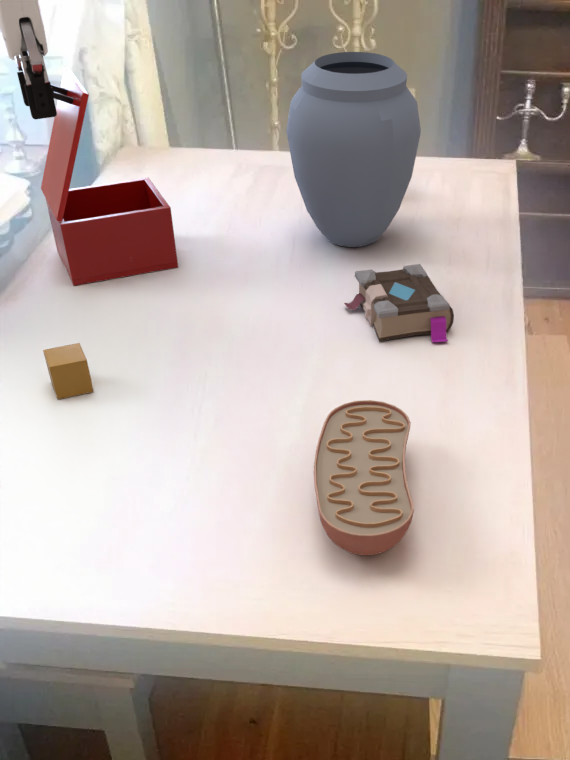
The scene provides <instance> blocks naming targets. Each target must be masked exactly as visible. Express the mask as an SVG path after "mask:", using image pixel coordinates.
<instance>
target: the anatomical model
mask: <svg viewBox="0 0 570 760" xmlns="http://www.w3.org/2000/svg"><path fill="white" fill-rule="evenodd" d="M411 423H412V422H411V420H410V417H409V416H408V414H407V413H406V412H404V410H402V409H401V408H399V407H398V406H396V405H394V404H391V403H387V402H385V401H380V400H373V399H372V400H371V399H367V400H366V399H365V400H353V401H349V402H345V403H342V404H341V405H339V406H337V407H334V409H332V410H331V411H330V412H329V413H328V414H327V416H326V418H325V420H324V422H323V425H322V428H321V431H320V434H319V437H318V441H317V445H316V449H315V454H314V462H313V481H314V482H313V483H314V485H313V486H314V493H315V498H316V504H317V510H318V515H319V520H320V522H321V526H322V527H323V529H324V532H325V534H326V535H327V537H328V538H329V539H330V540H331V542H333V544H334V545H336V546H337V547H339V548H340V549H342V550H344V551H346V552H348V553H350V554H353V555H359V556H375V555H378V554H382V553H384V552H387V551H389V550H390V549H392V548H394V547H395V546H396V545H397V544H399V542H400V541H402V540H403V538H404V537H405V536H406V534H407V532H408V531H409V528H410V526H411V524H412V520H413V516H414V512H415V508H414V502H413V499H412V496H411V491H410V488H409V485H408V484H409V483H408V479H407V474H406V450H407V443H408V439H409V435H410V430H411Z"/></svg>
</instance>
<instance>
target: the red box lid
mask: <svg viewBox="0 0 570 760" xmlns="http://www.w3.org/2000/svg"><path fill="white" fill-rule="evenodd" d="M50 84H51V88H52V93H53V98H54V100H57V103H56V106H55V107H56V111H57V115H56V117H53V123H52V128H51V134H50V139H49V142H48V149H47V154H46V159H45V165H44V170H43V175H42V181H41V185H40V190H41V191H42V194H43V195H44V198H45V201H46V200H47V202H48V204H49V206H50V208H51V210H52V212H53V214H54V216H55V218H56V220H57V221H60V222H62V221H63V216H64V211H65V207H66V202H67V197H68V192H69V189H71V188H70V187H71V182H72V177H73V173H74V168H75V163H76V160H77V159H76V158H77V154H78V149H79V145H80V139H81V134H82V129H83V125H84V121H85V115H86V110H87V107H88V102H89V97H90V94H89V92H88V91H87V89H85V88H84V86H83V85H82V83H81V82H80V81H79V79H78V78H77V77H76V75H75V74H74V72H73V71H72V70H71V69H70V68H69V67H66V66H64V67H63V71H62V76H61V82H60V86H58V85H55V84H52V83H50Z"/></svg>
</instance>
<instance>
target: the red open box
mask: <svg viewBox="0 0 570 760" xmlns="http://www.w3.org/2000/svg"><path fill="white" fill-rule="evenodd" d="M45 203H46V206H47V212H48V216H49V220H50V224H51V229H52V234H53V238H54V243H55V247H56V251H57V254H58V255H59V258H60V260H61V262H62V265H63V266H64V268H65V270H66V272H67V276H68V277H69V279H70V281H71V284H72V285H73V286H74V287H75V286H80V285H86V284H91V283H97V282H102V281H103V282H104V281H109V280H114V279H119V278H125V277H131V276H138V275H142V274H148V273H149V274H150V273H154V272H160V271H164V270H172V269H176V268H177V269H178V268H179V263H178V262H179V261H178V254H177V247H176V246H177V245H176V238H175V231H174V224H173V216H172V208H171V206H170V205H169V203H168V202H167V200H166V199H165V198H164V196H163V195H162V193H161V192H160V191H159V189H158V188H157V187H156V186H155V184H154V183H153V181H152V180H151V178H150V177H148V176H147V177H141V178H135V179H134V178H133V179H127V180H120V181H113V182H108V183H107V182H106V183H100V184H93V185H87V186H79V187H74V188H73V187H72V188H69V192H68V197H67V202H66V207H65V211H64V216H63V221H62V222H60V221H57V220H56V218H55V216H54V214H53V212H52V210H51V208H50V206H49V204H48V202H47V200H46V199H45Z"/></svg>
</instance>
